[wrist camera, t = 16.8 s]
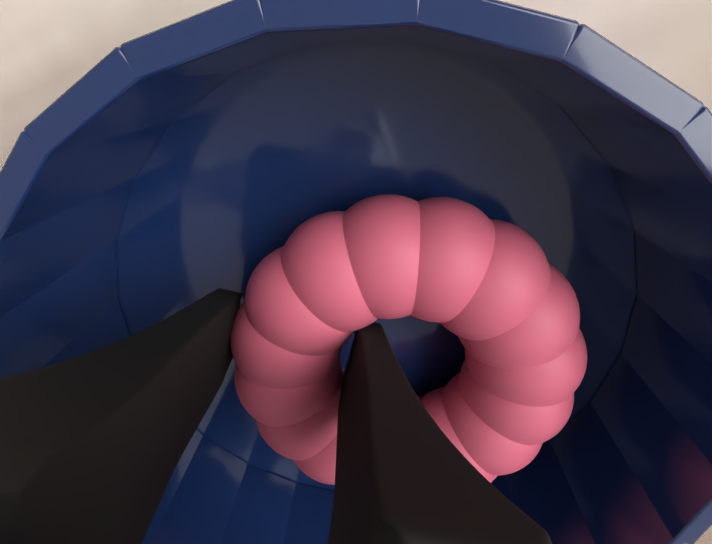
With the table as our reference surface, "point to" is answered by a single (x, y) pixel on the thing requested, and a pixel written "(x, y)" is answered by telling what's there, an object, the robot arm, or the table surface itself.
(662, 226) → the pot
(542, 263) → the donut
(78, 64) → the table surface
